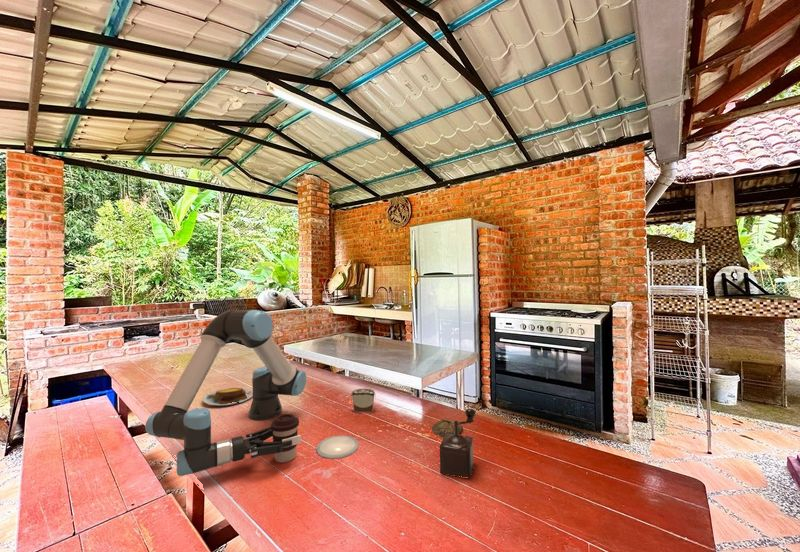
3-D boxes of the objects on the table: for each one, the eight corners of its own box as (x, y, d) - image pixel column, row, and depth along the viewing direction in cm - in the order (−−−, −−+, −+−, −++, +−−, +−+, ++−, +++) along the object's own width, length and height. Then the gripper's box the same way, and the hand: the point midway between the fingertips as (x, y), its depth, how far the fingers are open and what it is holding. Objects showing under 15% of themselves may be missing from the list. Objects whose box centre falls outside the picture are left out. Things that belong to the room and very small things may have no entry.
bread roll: (466, 431, 140) (466, 419, 140) (450, 441, 131) (450, 429, 131) (442, 422, 149) (442, 411, 149) (425, 431, 140) (425, 420, 140)
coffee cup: (304, 453, 123) (304, 414, 123) (285, 467, 114) (285, 425, 114) (285, 448, 127) (284, 410, 127) (265, 461, 118) (264, 420, 118)
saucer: (311, 444, 130) (311, 442, 130) (348, 433, 139) (348, 431, 139) (324, 463, 117) (324, 461, 117) (364, 450, 125) (364, 448, 125)
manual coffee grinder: (472, 480, 106) (471, 425, 106) (439, 474, 110) (438, 420, 110) (477, 455, 121) (476, 407, 121) (447, 450, 124) (447, 403, 124)
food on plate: (244, 388, 198) (244, 378, 198) (260, 399, 181) (260, 387, 181) (196, 400, 180) (196, 388, 180) (209, 413, 163) (209, 400, 163)
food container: (377, 407, 166) (377, 388, 166) (375, 412, 160) (375, 392, 160) (354, 407, 167) (353, 387, 167) (351, 412, 161) (350, 391, 161)
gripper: (228, 446, 121) (289, 431, 133) (234, 478, 102) (305, 456, 114) (228, 426, 121) (289, 412, 133) (234, 454, 102) (305, 435, 114)
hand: (296, 433), depth 123 cm, fingers open, 10 cm apart
